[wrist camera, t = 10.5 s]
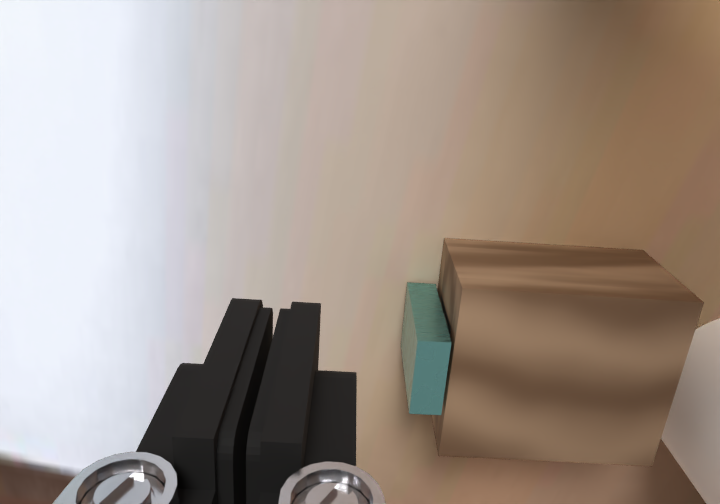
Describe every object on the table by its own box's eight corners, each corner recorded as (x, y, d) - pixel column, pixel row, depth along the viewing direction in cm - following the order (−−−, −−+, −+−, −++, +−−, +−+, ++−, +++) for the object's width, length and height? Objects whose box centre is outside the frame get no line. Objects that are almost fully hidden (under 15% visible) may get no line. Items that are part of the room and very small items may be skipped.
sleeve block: (444, 238, 42) (462, 288, 34) (643, 250, 42) (703, 302, 35) (425, 383, 46) (438, 455, 39) (605, 393, 47) (651, 466, 39)
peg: (407, 282, 43) (417, 340, 35) (603, 293, 43) (654, 353, 36) (400, 345, 45) (409, 413, 37) (588, 356, 45) (633, 425, 38)
